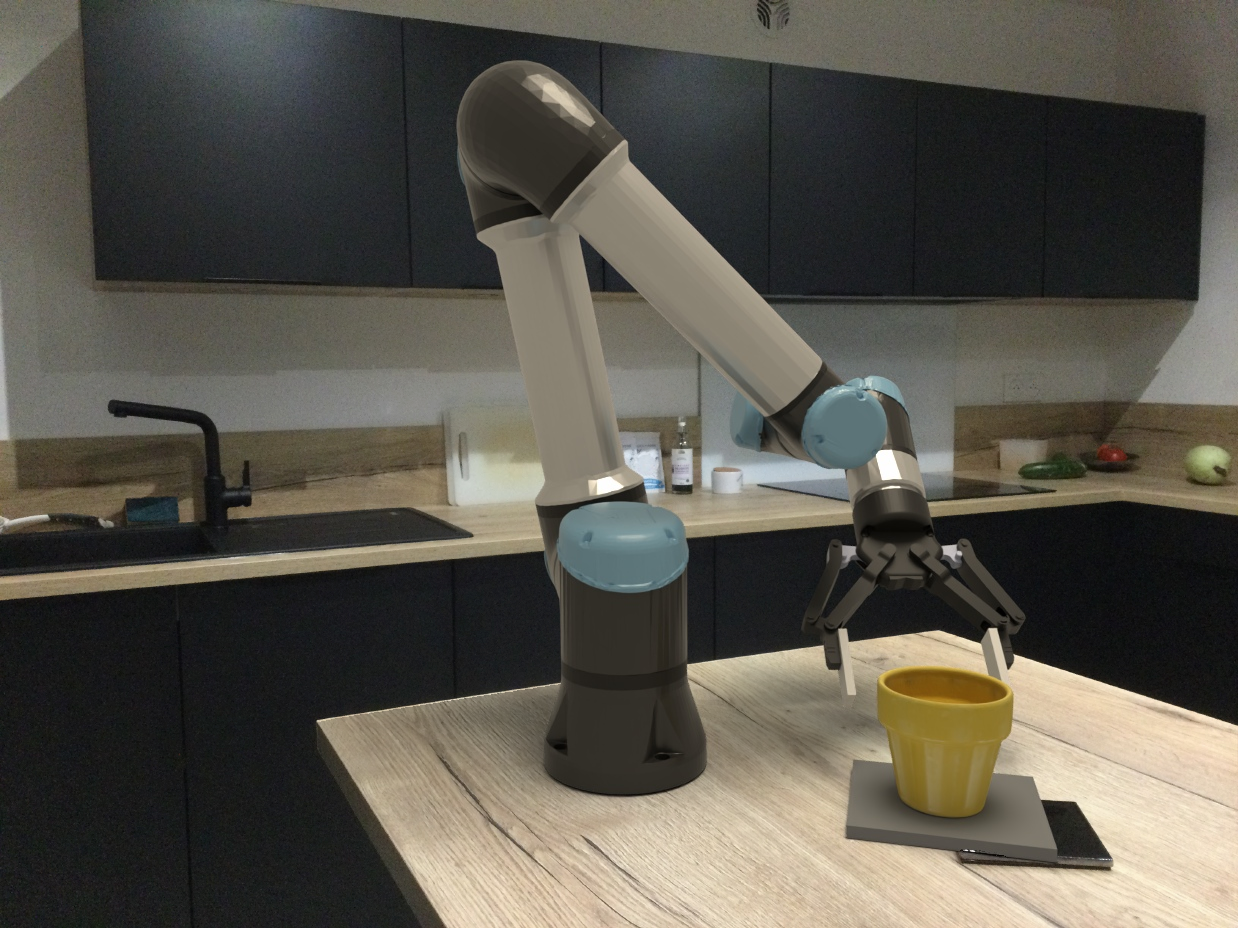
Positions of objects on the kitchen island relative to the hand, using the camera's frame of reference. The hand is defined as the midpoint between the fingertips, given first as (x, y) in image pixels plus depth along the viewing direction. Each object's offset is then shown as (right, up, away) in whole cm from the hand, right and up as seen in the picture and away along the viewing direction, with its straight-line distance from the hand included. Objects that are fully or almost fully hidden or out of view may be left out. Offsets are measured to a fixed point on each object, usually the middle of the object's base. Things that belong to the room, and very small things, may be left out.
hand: (927, 701), depth 85 cm
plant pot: (-1, -7, -7) cm, 9 cm away
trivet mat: (-1, -7, -6) cm, 10 cm away
